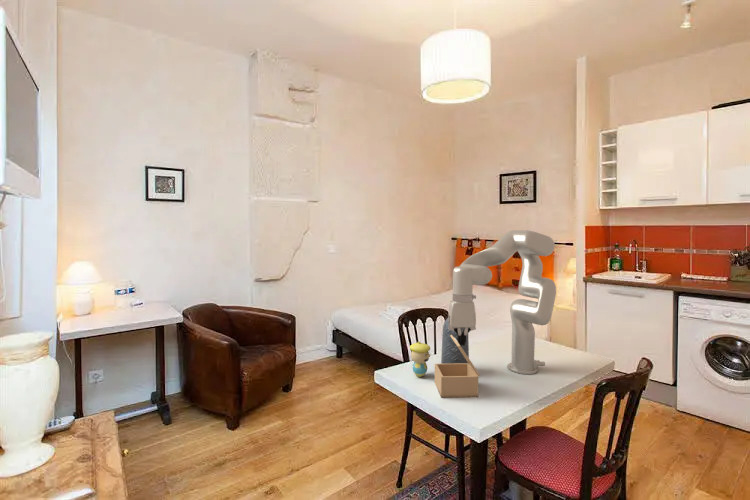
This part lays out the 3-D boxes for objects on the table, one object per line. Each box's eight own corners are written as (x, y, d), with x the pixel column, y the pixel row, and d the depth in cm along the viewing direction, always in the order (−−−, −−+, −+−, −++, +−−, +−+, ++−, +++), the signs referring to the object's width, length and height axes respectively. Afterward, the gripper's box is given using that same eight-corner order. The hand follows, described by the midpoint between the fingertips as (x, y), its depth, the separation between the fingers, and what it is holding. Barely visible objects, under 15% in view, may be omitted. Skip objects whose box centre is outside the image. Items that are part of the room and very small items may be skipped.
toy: (425, 381, 163) (426, 346, 162) (406, 377, 168) (406, 342, 166) (433, 375, 169) (433, 341, 168) (414, 371, 174) (414, 338, 173)
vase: (474, 371, 173) (475, 308, 171) (459, 379, 164) (460, 313, 162) (450, 365, 181) (451, 304, 179) (435, 372, 173) (435, 309, 171)
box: (468, 382, 162) (468, 363, 161) (478, 397, 148) (478, 376, 147) (434, 382, 162) (434, 363, 161) (441, 397, 148) (441, 377, 147)
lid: (468, 363, 161) (470, 361, 161) (478, 376, 147) (480, 374, 147) (449, 335, 160) (451, 334, 160) (458, 346, 146) (460, 345, 146)
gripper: (478, 296, 156) (477, 341, 157) (441, 296, 156) (440, 341, 157) (484, 300, 149) (483, 347, 150) (445, 300, 148) (444, 347, 149)
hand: (461, 344), depth 153 cm, fingers closed
